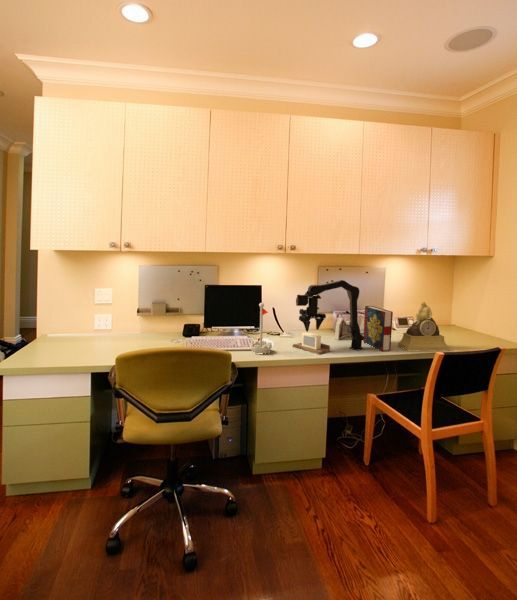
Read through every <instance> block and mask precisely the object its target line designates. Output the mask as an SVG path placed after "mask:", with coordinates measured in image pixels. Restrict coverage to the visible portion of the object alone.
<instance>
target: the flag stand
mask: <svg viewBox="0 0 517 600" xmlns="http://www.w3.org/2000/svg"><path fill="white" fill-rule="evenodd" d="M258 306H259V310H260V311H259V340H255V341H251V342H249V344H250V345H249V348H250V349H251V352H252V351H253V352H255V353H268V354H270V353H271V349H272V347H273V345H272V342H270V341H266V340H263V320H264V315H266V314H268V313H269V312H268V311H267V310H266V309H265V308H264V307H265V304H264V303H263V302H260V303H259V304H258ZM254 345H256V346H255V347H254ZM269 352H270V353H269Z"/></svg>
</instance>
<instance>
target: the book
mask: <svg viewBox="0 0 517 600" xmlns="http://www.w3.org/2000/svg"><path fill="white" fill-rule="evenodd" d="M393 315H394V314H393V311H391V310H387V309H385V308H381V307H376V306H373V305H366V306H364V319H363V321H364V322H363V335H362V336H363V337H364V339H363V340H362V343H363V342H364V343H363V344H365V343H367V344H369V345H371V346H370V347H372V346H373V347H372V348H374V347H375V348H374V349H376V348H377V349H376V350H378V349H379V350H378V351H380V350H382V351H381V352H384V351H388V350H390V351H391V345H392V332H393V331H392V328H393ZM367 344H366V345H367ZM369 345H368V346H369Z"/></svg>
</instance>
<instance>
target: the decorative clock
mask: <svg viewBox="0 0 517 600" xmlns="http://www.w3.org/2000/svg"><path fill="white" fill-rule="evenodd" d="M420 305H421V306H420V307H419V309H418V313H416V314H415V316H416V321H415V322H413V323H412V324H411V325H410V326H409V327H408V328H407V330H406V331H405V332H403V333H402V339H401V340H399V342H398V343H397V346H398V347H399V346H400V347H399V348H401V347H402V348H401V349H403V348H404V349H405V351H406V350H407V352H409V351H408V350H436V351H435V352H439V351H438V350H445V352H446V351H447V352H448V351H451V347H450V345H448V344H447V343H446V341H445V335H443V334H440V329H439V325H438V324H437V323H436V321H435V319H434V318H432V315H433V312H432V309H431V307H430V306H429V305H427V303H426V302H425V301H422V302H421V304H420ZM404 349H403V350H404Z"/></svg>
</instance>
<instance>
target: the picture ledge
mask: <svg viewBox="0 0 517 600" xmlns="http://www.w3.org/2000/svg"><path fill="white" fill-rule="evenodd" d="M294 347H295V349H297V350H301V349H302V350H301V351H304V352H308V351H309V353H312V354H315V353H316V355H322V353H323V354H326V352H327V353H330V352H331V348H330V347H331V346H330V345H329V344H326V343H321V348H320V349H313V348H309V347H305V346H302V342H299V343H294V344H292V348H294Z"/></svg>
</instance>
